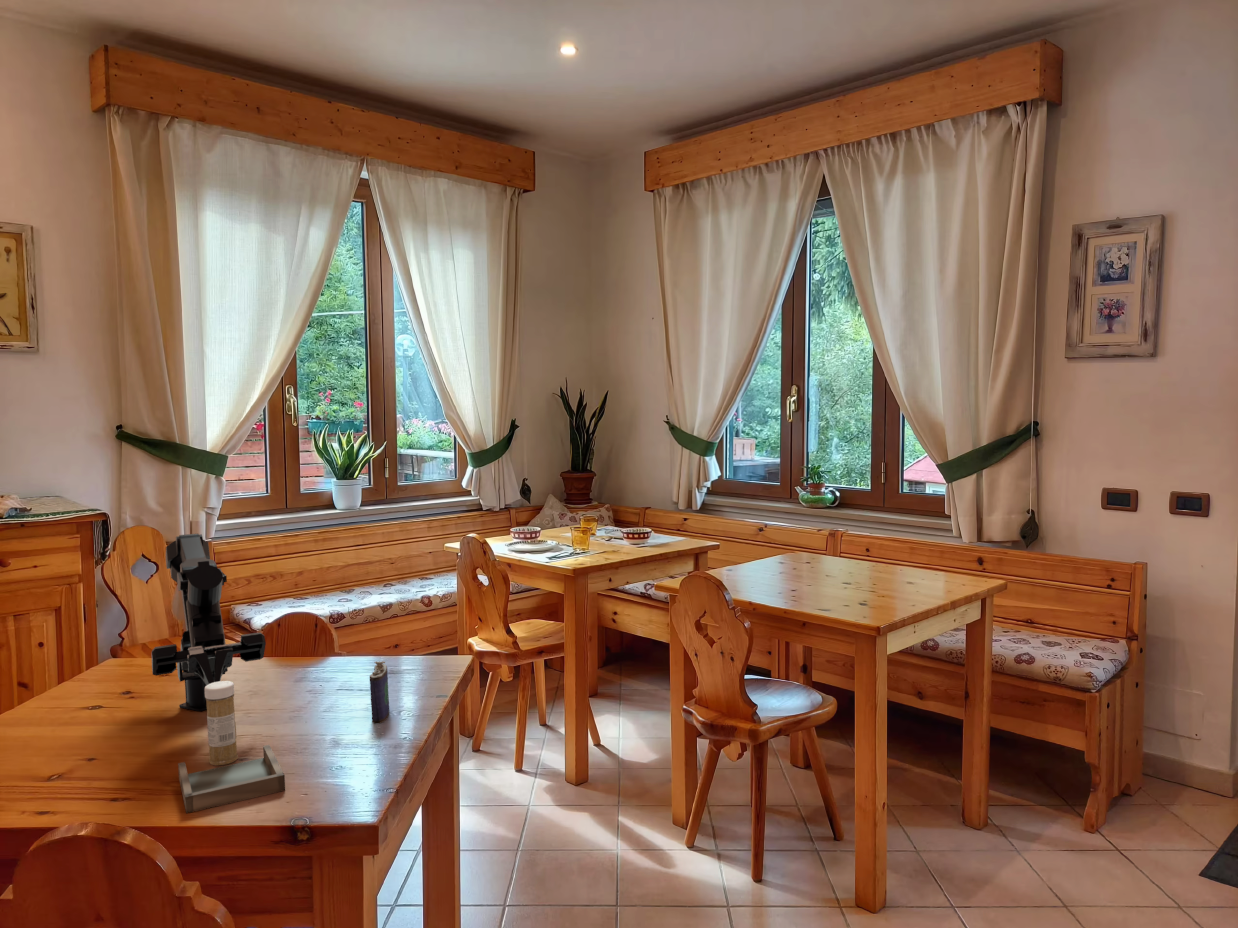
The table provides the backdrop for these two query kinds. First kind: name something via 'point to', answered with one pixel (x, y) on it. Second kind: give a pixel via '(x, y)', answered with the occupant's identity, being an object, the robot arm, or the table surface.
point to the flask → (379, 693)
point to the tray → (231, 782)
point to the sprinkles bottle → (221, 722)
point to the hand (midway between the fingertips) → (215, 693)
